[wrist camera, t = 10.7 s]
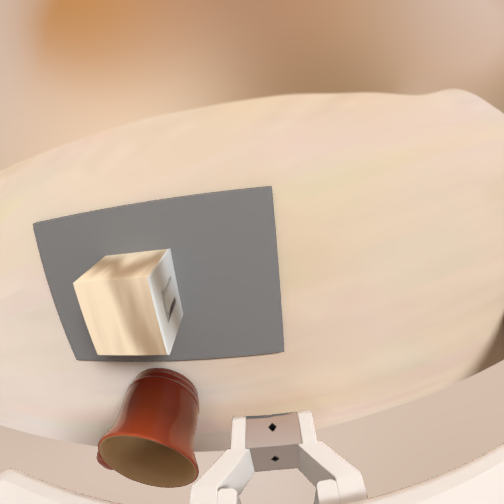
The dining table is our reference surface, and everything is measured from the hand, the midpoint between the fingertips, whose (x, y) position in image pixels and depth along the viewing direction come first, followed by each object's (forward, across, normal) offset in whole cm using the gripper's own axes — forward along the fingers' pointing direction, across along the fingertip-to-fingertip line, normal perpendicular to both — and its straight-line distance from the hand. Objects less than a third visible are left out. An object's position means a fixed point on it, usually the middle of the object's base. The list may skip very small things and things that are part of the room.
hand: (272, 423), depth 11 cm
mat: (+15, +10, +1) cm, 18 cm away
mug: (+15, +13, +13) cm, 24 cm away
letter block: (+12, +7, 0) cm, 14 cm away
